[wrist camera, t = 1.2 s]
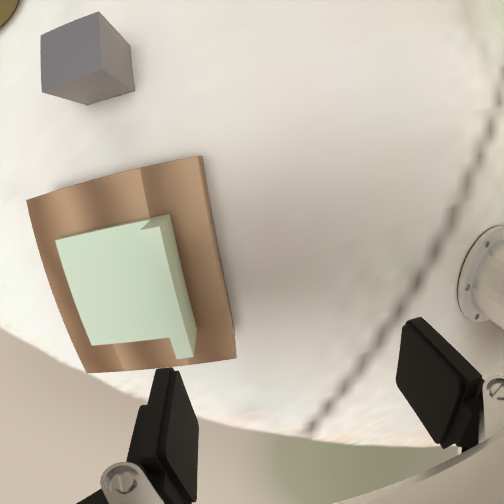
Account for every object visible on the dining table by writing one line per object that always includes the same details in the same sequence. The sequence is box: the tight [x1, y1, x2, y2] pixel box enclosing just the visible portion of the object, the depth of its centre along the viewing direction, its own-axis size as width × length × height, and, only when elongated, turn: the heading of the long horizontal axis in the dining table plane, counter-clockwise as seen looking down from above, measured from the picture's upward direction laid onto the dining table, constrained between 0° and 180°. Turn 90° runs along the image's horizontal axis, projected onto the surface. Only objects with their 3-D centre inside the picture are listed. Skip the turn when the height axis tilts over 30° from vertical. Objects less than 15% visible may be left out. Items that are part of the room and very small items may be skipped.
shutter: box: [55, 214, 197, 359], centre depth 21 cm, size 9×9×4 cm
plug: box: [41, 12, 135, 105], centre depth 18 cm, size 4×4×8 cm
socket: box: [26, 156, 237, 373], centre depth 25 cm, size 14×16×5 cm
